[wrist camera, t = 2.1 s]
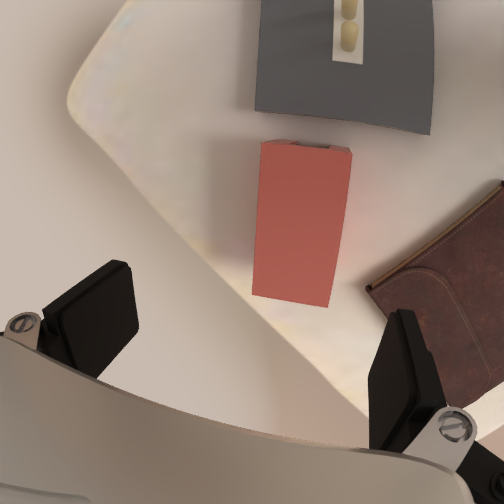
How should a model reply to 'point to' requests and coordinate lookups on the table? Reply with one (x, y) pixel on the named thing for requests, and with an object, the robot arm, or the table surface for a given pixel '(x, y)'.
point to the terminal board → (348, 61)
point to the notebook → (457, 300)
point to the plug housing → (299, 220)
